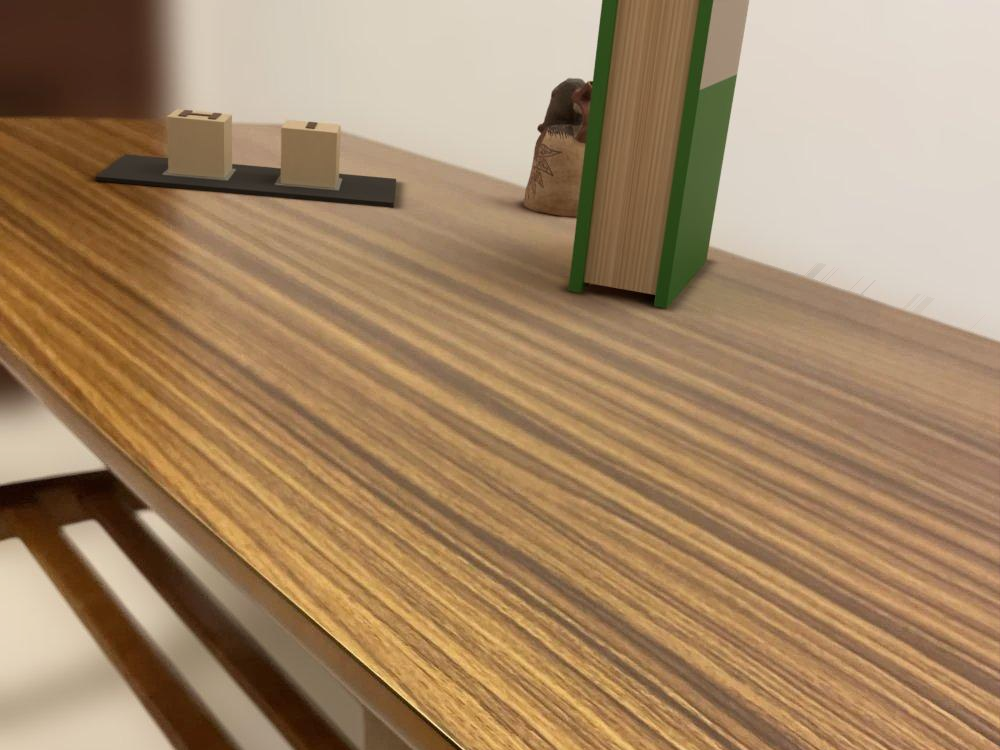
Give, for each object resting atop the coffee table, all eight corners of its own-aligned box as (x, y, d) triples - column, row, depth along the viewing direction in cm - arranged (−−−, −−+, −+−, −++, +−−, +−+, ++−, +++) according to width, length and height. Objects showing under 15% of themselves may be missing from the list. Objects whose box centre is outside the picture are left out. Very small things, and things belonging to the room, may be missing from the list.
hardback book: (666, 308, 89) (722, -59, 79) (568, 290, 91) (610, -71, 80) (706, 261, 105) (757, -51, 94) (622, 246, 106) (663, -61, 96)
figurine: (572, 200, 123) (587, 73, 118) (612, 216, 118) (629, 84, 113) (511, 201, 119) (523, 70, 114) (550, 218, 114) (564, 81, 109)
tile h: (168, 173, 112) (166, 115, 110) (178, 164, 116) (176, 107, 114) (224, 178, 112) (224, 120, 110) (232, 169, 117) (231, 113, 115)
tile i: (280, 183, 113) (281, 126, 111) (285, 174, 118) (286, 118, 115) (335, 188, 114) (337, 131, 111) (338, 178, 118) (340, 123, 116)
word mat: (95, 180, 108) (95, 175, 108) (125, 158, 119) (125, 153, 119) (393, 207, 111) (393, 201, 111) (395, 182, 122) (396, 177, 122)
